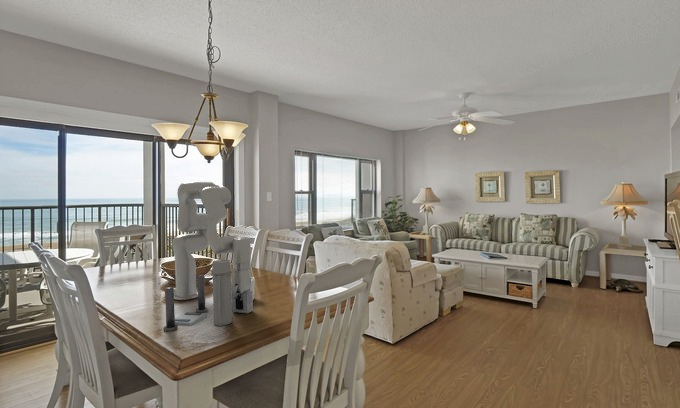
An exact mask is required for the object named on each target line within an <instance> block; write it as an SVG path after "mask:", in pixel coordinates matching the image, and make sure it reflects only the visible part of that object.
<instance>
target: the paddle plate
mask: <svg viewBox="0 0 680 408" xmlns="http://www.w3.org/2000/svg"><path fill="white" fill-rule="evenodd" d="M206 317H208V313H207V312H205V313H196V312H189V311H188V312H185V311H184V312H181V313H180V314H178V315H175V324H176V325H178V326H179V325H182V326H192V325H194V324H196V323H197V322H200V321H201V320H203V319H204V318H206Z"/></svg>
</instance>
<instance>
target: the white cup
mask: <svg viewBox="0 0 680 408" xmlns="http://www.w3.org/2000/svg"><path fill="white" fill-rule="evenodd" d="M255 282H256V278H255V277H251V288H250V291H252V296H253V300H254V299H255V288H256V287H255V286H256V285H255V284H256V283H255Z"/></svg>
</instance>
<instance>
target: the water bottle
mask: <svg viewBox="0 0 680 408" xmlns="http://www.w3.org/2000/svg"><path fill="white" fill-rule="evenodd" d="M232 273H233V271H232V270H231V263H230V260H229V259H217V260H213V261H212V266H211V273H210V275H211V276H212V302H213V305H212V306H213V307H212V308H213V324H214V325H215V326H218V327H222V326H228V325H230V324H231V323H233V312H232V292H231V286H232Z"/></svg>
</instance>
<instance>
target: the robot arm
mask: <svg viewBox="0 0 680 408" xmlns="http://www.w3.org/2000/svg"><path fill="white" fill-rule="evenodd" d="M177 200H178V211H177V212H178V214H177V229H178V231H179V232H181V233H184V234H180V235H176V236H175V237H174V238H173V239H172V243H171V246H172V250H173V254H174V255H173V256H174V270H175V272H174V273H175V274H174V275H175V287H174V301H175V300H176V301H177V300H178V301H184V300H192V299H196V298H198V290H197V269H196V268H197V266H196V260H195V257H194V256H193V255H192V253H198V252H202V251H205V250H206V249H207V248H208V246H209V247H210V249H211V251H212V252H213V253H214V254H215V255H225V254H231V253H232V273H231V294H232V293H233V297H234V298H235V300H236V309H238V310H242V309H243V300H242V296H243V293H244V292H246V291H250V288H251V278H252V273H251V268H252V266H251V265H252V261H251V259H252V257H251V256H252V255H251V254H252V253H251V250H252V249H251V248H252V247H251V239H250V238H249V237H247V236H241V235H237V234H235V235H234V234H233V235H226V236H225V235H224V236H220V235H219V233H218V231H217V225H218V224H220V223H221V222H223V221H225V220H226V219H227V218H228V216H229V214H228V210H227V208H226V206H225V205H227V204H229V203H231V200H232V194H231V191H230V190H229V188H228V187H226V186H224V185H222V184H219V183H216V182H213V181H184V182H182V183H181V184H179V185H178V188H177ZM196 200H200V201H201V203H202V205H203V208H204V210H205V212H206V213H205V212H198V203H197V201H196ZM185 233H186V234H185ZM238 292H240V293H238ZM238 294H240V296H239V295H238Z"/></svg>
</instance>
